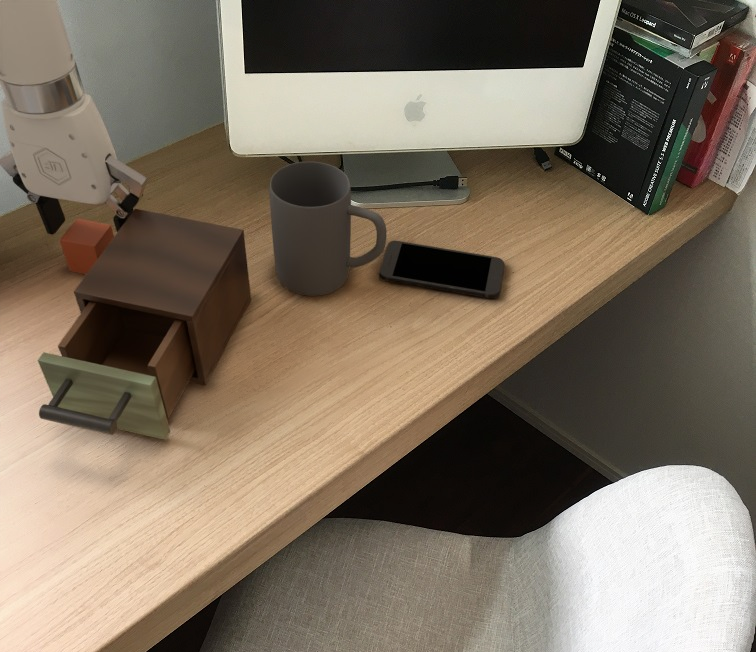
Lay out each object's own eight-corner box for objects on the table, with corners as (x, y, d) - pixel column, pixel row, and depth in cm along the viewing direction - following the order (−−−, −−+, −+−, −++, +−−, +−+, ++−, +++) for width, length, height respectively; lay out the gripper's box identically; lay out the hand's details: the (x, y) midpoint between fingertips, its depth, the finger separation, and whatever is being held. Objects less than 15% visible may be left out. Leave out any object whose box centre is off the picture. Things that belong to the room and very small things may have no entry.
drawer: (145, 477, 76) (128, 424, 69) (36, 451, 77) (10, 397, 71) (214, 350, 86) (205, 293, 80) (118, 329, 88) (101, 272, 81)
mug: (263, 287, 94) (255, 197, 84) (291, 243, 99) (286, 153, 89) (371, 314, 92) (375, 225, 82) (394, 267, 97) (400, 179, 88)
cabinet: (205, 385, 84) (192, 316, 77) (97, 361, 86) (73, 291, 78) (251, 299, 93) (243, 229, 85) (151, 279, 94) (135, 208, 86)
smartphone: (498, 301, 94) (500, 295, 94) (376, 280, 96) (377, 274, 95) (505, 263, 99) (506, 257, 98) (388, 244, 100) (388, 238, 99)
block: (69, 271, 94) (59, 239, 91) (86, 249, 97) (76, 217, 93) (103, 278, 94) (94, 246, 90) (119, 255, 96) (111, 224, 93)
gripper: (-56, 92, 77) (11, 241, 91) (104, 117, 75) (148, 266, 89) (-15, 57, 81) (43, 204, 95) (138, 79, 79) (174, 227, 93)
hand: (93, 233), depth 92 cm, fingers open, 9 cm apart
